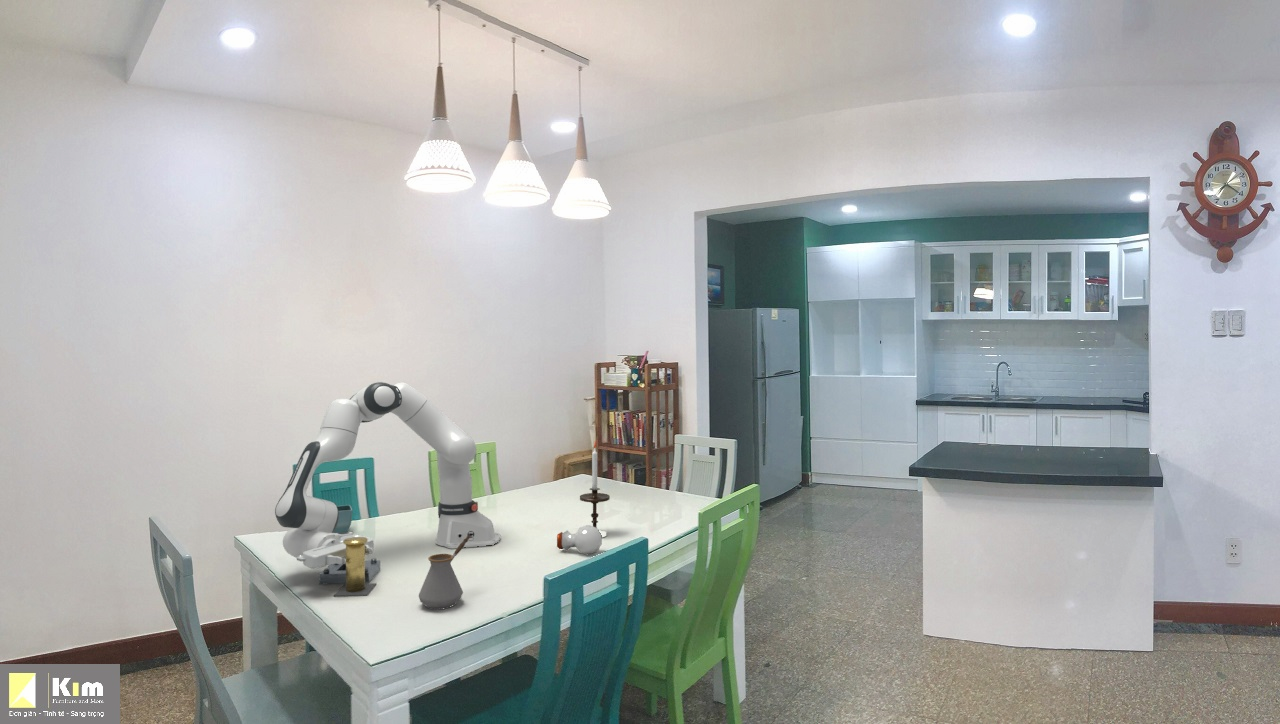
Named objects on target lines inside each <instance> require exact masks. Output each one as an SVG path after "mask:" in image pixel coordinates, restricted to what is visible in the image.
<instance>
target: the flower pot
mask: <svg viewBox="0 0 1280 724" xmlns="http://www.w3.org/2000/svg"><path fill="white" fill-rule="evenodd" d="M336 506H337V508H338V511H339V520H338V524H337V526H336V529H335V530H334V532H333V533H342V532H349V530H350V529H351V526H352V520H353V519H352V518H353V508H352V506H351V505H350V504H345V505H336Z"/></svg>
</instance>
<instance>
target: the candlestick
mask: <svg viewBox="0 0 1280 724" xmlns="http://www.w3.org/2000/svg"><path fill="white" fill-rule="evenodd" d="M597 441H598V440H597V439H596V440H595V441H594V445H593V452H591V468H592V469H591V470H592V472H591V483H592V484H591V488H589V490H590V491H591V492H590V493H588V492H587V493H584V494H581V495H579V500H580V501H581V502H586V503H591V504H592V513H591V514H590V517H591V518H592V520H591V523H592V526H593V527H596V528H597V529H598V526H597V523H599V520H598V517H599V513H598V512H597V507H598V506H597V504H599V503H604V502H607V501H609V500H611V499H610V494H608V493H602V492H598V491H599V490H601V488H599V487H598V451H597V449H596V447H597Z"/></svg>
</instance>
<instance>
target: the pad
mask: <svg viewBox="0 0 1280 724" xmlns="http://www.w3.org/2000/svg"><path fill="white" fill-rule="evenodd" d="M376 586H377V583H376V582H375V583H374V582H373V583H372V582H371V583H370V582H369V583H365V589H364V590H362V591H358V592H348V591H346V584H342V586H341V587H340V588H339V589H338V590H337V591H336V592H335V593H334V594H333V597H335V598H337V597H339V598H340V597H366V596H369V594H370V593H371V592H372V591H373V589H374V588H375V587H376Z"/></svg>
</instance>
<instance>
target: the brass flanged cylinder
mask: <svg viewBox="0 0 1280 724" xmlns="http://www.w3.org/2000/svg"><path fill="white" fill-rule="evenodd" d="M367 541H368V539H367V538H365V537H352V538H348V539H345V540H344V541H343V544H345V545H346V560H345V561H346V591H348V592H358V591H362V590H364V589H365V584H366V583H365V561H366V555H365V543H366V542H367Z"/></svg>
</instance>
